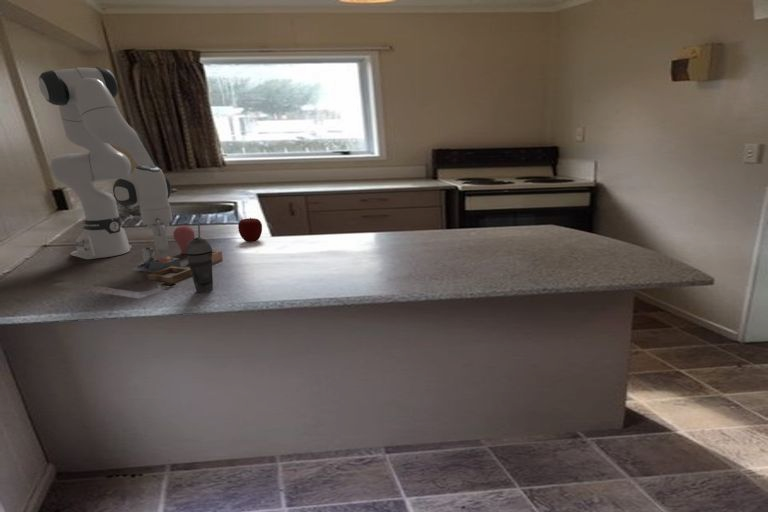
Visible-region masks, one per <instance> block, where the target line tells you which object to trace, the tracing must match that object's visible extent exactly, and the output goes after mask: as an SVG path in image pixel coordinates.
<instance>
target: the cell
mask: <svg viewBox="0 0 768 512" xmlns="http://www.w3.org/2000/svg"><path fill="white" fill-rule="evenodd" d="M141 254H142V258H143V263H145V267H146V268H149V266H150V262H151V261H154V260H157V258H156V253H155V247H150V246H145V248H142V249H141Z"/></svg>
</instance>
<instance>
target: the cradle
mask: <svg viewBox="0 0 768 512" xmlns="http://www.w3.org/2000/svg"><path fill="white" fill-rule="evenodd" d="M169 257H170V258H171V260H170V261H167V262H159V260H158V259H159V258H158V259H157V258H156V260H154V261H151V262H150V266H149V268H146V267H145V263H144V262H141V263H138V264H137V267H134V268H131V270H132V271H139V272H149V273H154V272H157V271H160V270H163V269H165V268H168V267H171V266H173V267H183V266H186V264H182V263H181V259H180V258H179V257H171V256H169ZM131 270H130V271H131Z"/></svg>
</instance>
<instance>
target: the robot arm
mask: <svg viewBox="0 0 768 512" xmlns="http://www.w3.org/2000/svg"><path fill="white" fill-rule="evenodd" d="M38 81H39V82H38V86H39V90H40V93H41V94H42V96H43V97H44V99H45V100H46V101H47V102H48V103H50V104H51V105H53V106H58V108H59V109H58V110H59V114H60V118H61V121H62V125H63V128H64V133H65V137H66V138H67V140H69V142H71V143H72V144H75V145H77V146H79V147H82V148H84V149H86V150H88V151H89V152H76V153H73V152H71V153H66V154H65V153H64V154H60V155H57V156H54V157H53V158H52V160H51V161H50V164H49V165H50V169H49V170H50V173H51V175H52V176H53V178H54V179H56V181H57V182H59V183H61V184H63V185H65V186H67V187H68V188H70V189H71V190H72V191H73V192H74V193H75V194H76V195H77V198H78V199H79V200H80V203H81V205H82V206H81V207H82V209H83V212H84V216H85V220H83V221H82V225H84V226H83V227H84V230H83V231H82V232H81V234H80V235H79V236H78V237H77V238H76V240H75V245H76V250H74V251H72V252H70V256H72V257H77V258H79V259H83V260H92V259H101V258H108V257H109V258H110V257H115V256H120V255H123V254H126V253H128V252H130V251H131V249H132V248H133V246H132V245H131V244H129V243H130V242H129V240H128V236H127V234H126V233H127V232H126V231H125V230H126V229H125V228H123V227H122V219H121V216H120V215H119V210H118V206H117V203H119V205H121V206H122V207H126V208H127V207H128V208H129V207H130V208H131V207H138V206H139V210H140V211H139V212H140V216H141V222H142V223H141V224H143V225H147V229H149V230H152V235H153V243H154V249H155V250H156V251H157V252H159V255H160V258H161V259H166V258H167V257H168V255H167V250H169V243H168V236H167V233H168V232H167V228H168V227H170V222H172V221H173V214H172V209H171V204H170V201H169V198H170V197H171V193H172V183H171V182H170V180H169V179H168V177H167V176H166V175H165V174H164V172H163V170H162V169H161V168H160V167H159V165H158V163H157V162H156V160H155V158H154V156H153V155H152V153H151V151H150V150H149V148H148V146H147V145H146V143H145V141H144V139H143V138H142V136H141V135H140V133H139V132H138V131H137V130H136V129H134V128H132V126H131V125H130V124H128V122H127V121H126V120H125V118H124V117H123V115H122V114H121V112H120V108H119V106H118V104H117V102H116V101H115V98H116V97H117V95H118V94H119V93H118V92H119V89H118V82H117V80H116V77H115V75H114V74H113V72H111V70H109V69H108V68H106V67H105V68H104V67H100V66H99V67H98V66H96V67H73V68H65V69H58V70H48V71H47V70H46V71H44V72H41V73H40V76H39V78H38ZM113 146H116V147H118V148H120V149H122V150H124V151H125V152H127V153H129V155H130V156H131V157H132V159H133V160H134V162H135V164H136V165H137V166H136V167H134V169H133V171H132V164H131V161H130V159H129V158H128V156H127V155H126V154H124V152H121V151H119V150H117V149H116V148H115V147H113ZM113 181H114V184H113V187H112V193H113V194H111V193H110V192H108V191H105V190H102V189H98V188H96V186H95V185H94V183H101V182H102V183H103V182H113Z"/></svg>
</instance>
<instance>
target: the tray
mask: <svg viewBox="0 0 768 512" xmlns="http://www.w3.org/2000/svg"><path fill="white" fill-rule="evenodd" d="M169 273H174V274H171V275H166V274H169ZM146 277H147V280H151V281H152V280H153V281H159V282H163V283H162V284H160V286H162V287H163V286H166V287H174V286H175V285H177V282H180V281H182V280H185V279H187V278H190V277H192V273H191V269H190V267H183V266H181V267H173V266H171V267H168V268H165V269H163V270H160V271H157V272H150V273H148V274H147V276H146Z"/></svg>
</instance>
